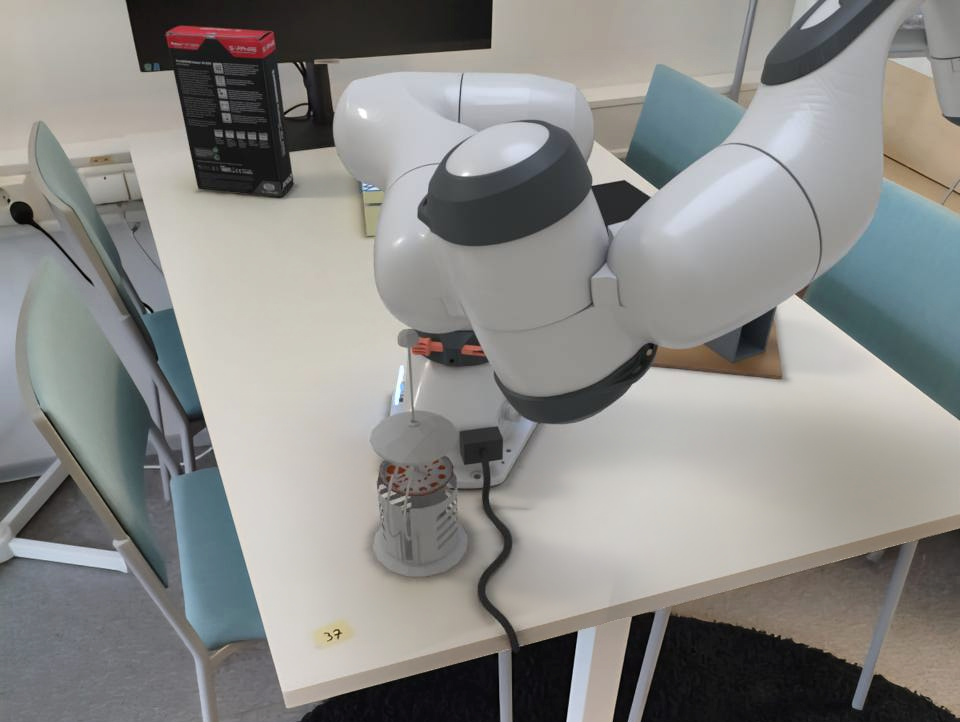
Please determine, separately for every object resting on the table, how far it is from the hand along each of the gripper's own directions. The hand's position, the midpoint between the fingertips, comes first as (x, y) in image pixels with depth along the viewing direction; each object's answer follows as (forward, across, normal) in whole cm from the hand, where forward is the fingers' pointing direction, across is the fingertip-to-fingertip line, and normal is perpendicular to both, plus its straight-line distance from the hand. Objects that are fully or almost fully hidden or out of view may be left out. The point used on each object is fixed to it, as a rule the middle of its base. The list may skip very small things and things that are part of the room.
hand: (846, 46), depth 85 cm
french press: (+9, -47, -44) cm, 66 cm away
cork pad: (+27, +6, -33) cm, 43 cm away
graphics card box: (+103, -39, -8) cm, 111 cm away
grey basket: (+25, +6, -33) cm, 42 cm away
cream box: (+93, -12, -9) cm, 95 cm away
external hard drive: (+60, +15, -20) cm, 65 cm away
